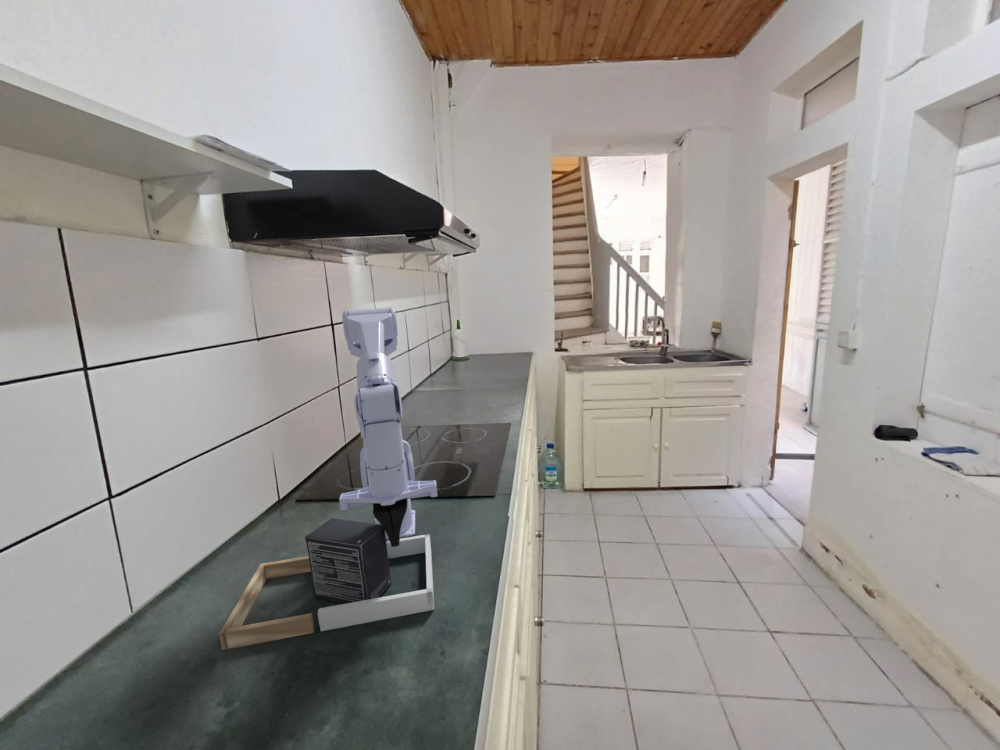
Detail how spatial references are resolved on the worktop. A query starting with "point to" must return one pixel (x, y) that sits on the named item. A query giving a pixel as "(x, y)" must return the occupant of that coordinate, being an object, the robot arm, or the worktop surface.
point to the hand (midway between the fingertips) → (395, 543)
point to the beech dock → (268, 630)
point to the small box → (348, 561)
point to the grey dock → (388, 604)
